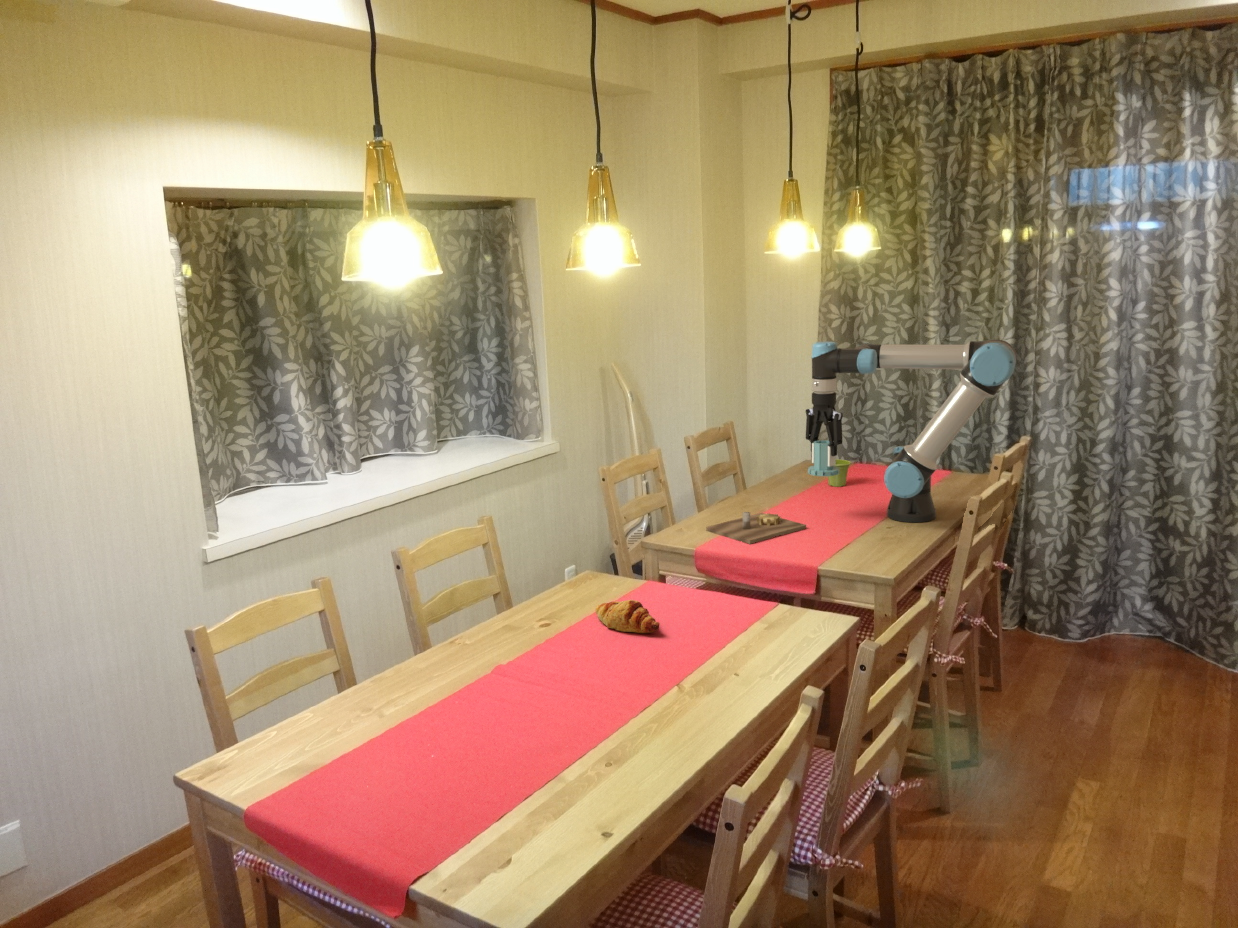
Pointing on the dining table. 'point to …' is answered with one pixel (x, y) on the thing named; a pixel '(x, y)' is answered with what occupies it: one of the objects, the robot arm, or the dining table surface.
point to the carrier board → (755, 527)
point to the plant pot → (841, 477)
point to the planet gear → (822, 460)
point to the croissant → (626, 617)
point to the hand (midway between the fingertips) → (823, 464)
